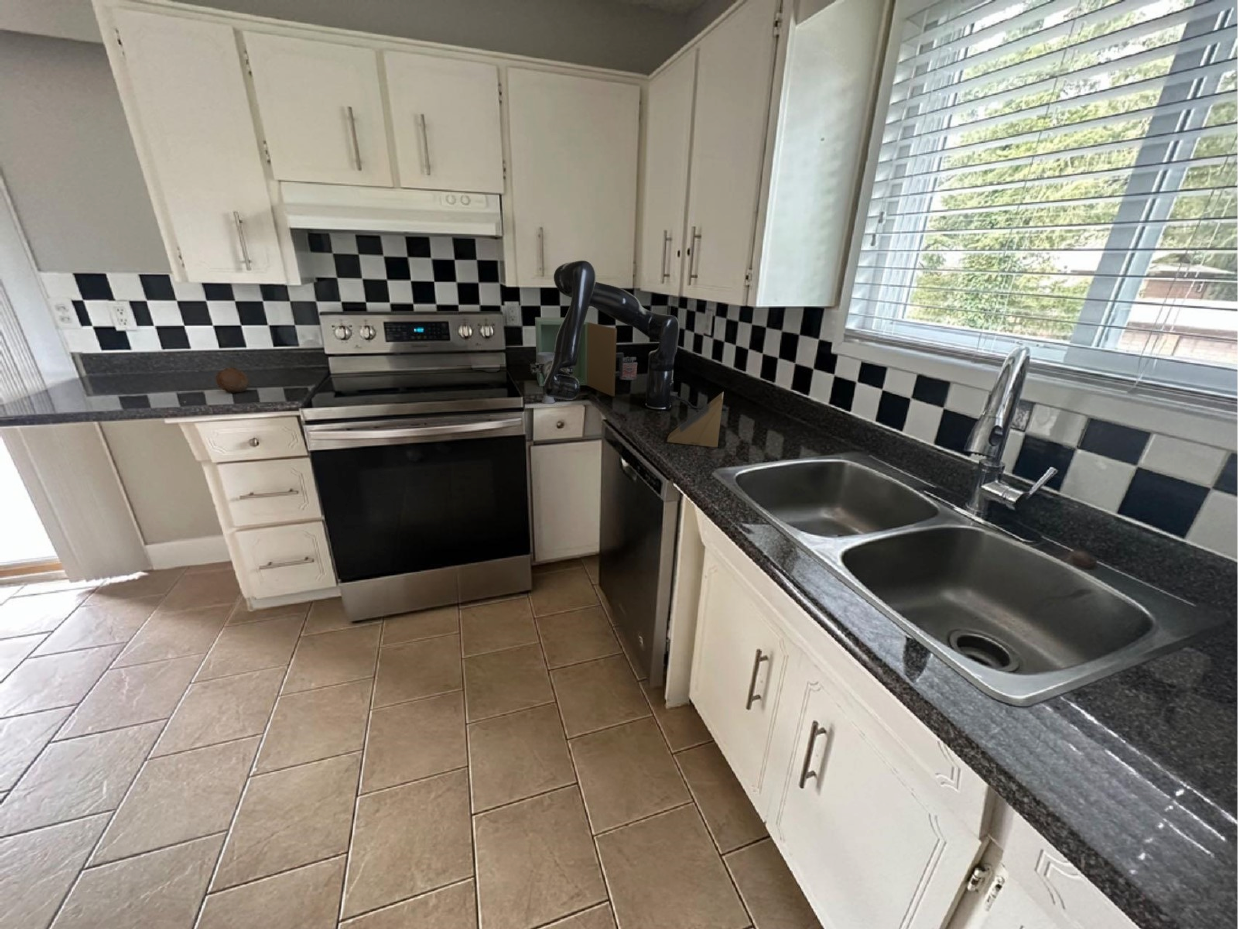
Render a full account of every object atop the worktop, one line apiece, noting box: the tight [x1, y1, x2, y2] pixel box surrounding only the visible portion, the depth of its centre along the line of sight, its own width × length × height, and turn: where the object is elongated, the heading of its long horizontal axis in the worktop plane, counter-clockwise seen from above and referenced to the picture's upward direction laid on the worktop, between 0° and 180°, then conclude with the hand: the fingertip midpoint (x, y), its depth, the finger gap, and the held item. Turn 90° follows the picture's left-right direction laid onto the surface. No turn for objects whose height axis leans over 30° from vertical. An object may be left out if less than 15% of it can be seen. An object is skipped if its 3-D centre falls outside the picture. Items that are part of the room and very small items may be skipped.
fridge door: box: [586, 321, 624, 397], centre depth 202 cm, size 6×20×26 cm, turn 33°
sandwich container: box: [666, 391, 724, 448], centre depth 151 cm, size 9×15×15 cm, turn 78°
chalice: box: [537, 352, 556, 405], centre depth 185 cm, size 7×7×18 cm
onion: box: [215, 366, 249, 394], centre depth 184 cm, size 10×9×10 cm
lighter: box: [618, 356, 638, 381], centre depth 226 cm, size 8×3×10 cm, turn 104°
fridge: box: [534, 316, 589, 387], centre depth 213 cm, size 14×20×26 cm
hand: (549, 364), depth 176 cm, fingers open, 8 cm apart
